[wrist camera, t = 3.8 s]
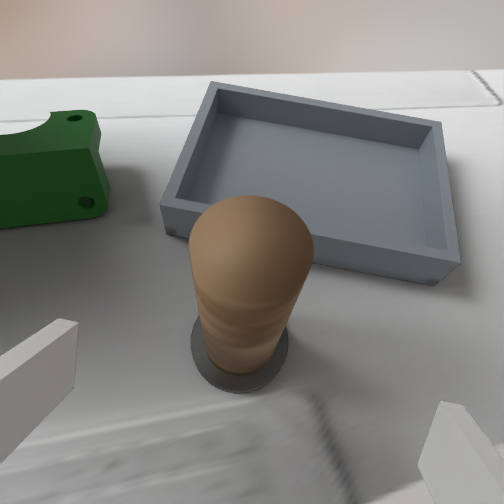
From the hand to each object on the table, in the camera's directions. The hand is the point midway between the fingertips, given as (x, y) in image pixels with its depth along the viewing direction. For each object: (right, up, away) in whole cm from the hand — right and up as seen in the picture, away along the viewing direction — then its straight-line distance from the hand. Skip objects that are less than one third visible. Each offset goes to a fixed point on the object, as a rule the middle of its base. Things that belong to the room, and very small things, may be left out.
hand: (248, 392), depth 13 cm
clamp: (-17, +10, +15) cm, 25 cm away
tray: (+5, +10, +17) cm, 21 cm away
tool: (-1, -1, +10) cm, 10 cm away
